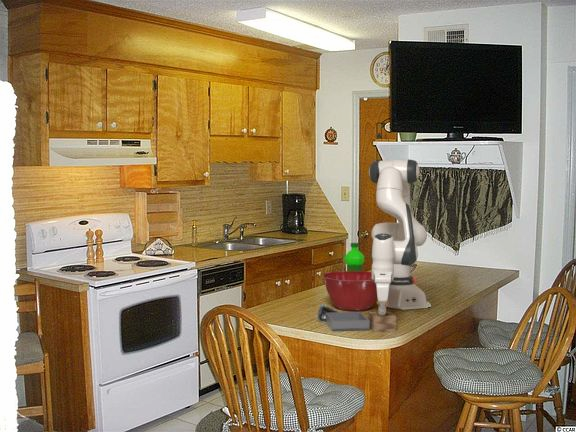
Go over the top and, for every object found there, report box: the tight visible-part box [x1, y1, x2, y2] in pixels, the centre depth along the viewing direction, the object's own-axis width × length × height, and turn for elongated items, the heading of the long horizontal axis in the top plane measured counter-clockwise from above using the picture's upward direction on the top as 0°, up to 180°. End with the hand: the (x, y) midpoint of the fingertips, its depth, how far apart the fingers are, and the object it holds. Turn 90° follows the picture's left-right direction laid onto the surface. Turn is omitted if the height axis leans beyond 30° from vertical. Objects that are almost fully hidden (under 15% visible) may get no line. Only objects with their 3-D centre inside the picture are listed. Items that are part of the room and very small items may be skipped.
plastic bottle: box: [344, 242, 365, 271], centre depth 332 cm, size 10×10×25 cm
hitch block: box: [367, 311, 397, 333], centre depth 253 cm, size 9×9×6 cm
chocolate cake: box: [317, 303, 338, 323], centre depth 269 cm, size 10×7×12 cm
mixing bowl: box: [322, 270, 378, 312], centre depth 290 cm, size 28×28×15 cm
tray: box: [325, 311, 370, 332], centre depth 258 cm, size 15×15×4 cm
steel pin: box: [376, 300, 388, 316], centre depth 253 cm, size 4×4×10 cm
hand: (382, 308), depth 253 cm, fingers open, 6 cm apart
